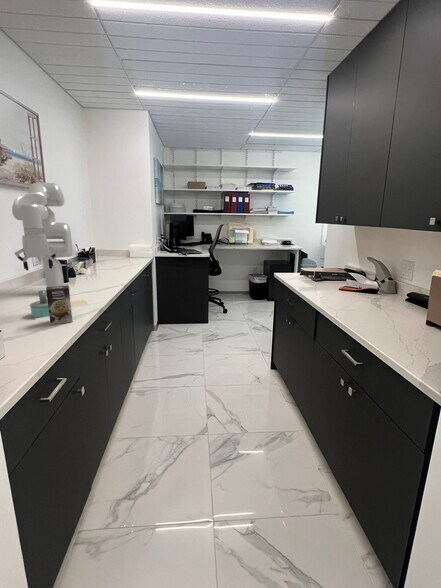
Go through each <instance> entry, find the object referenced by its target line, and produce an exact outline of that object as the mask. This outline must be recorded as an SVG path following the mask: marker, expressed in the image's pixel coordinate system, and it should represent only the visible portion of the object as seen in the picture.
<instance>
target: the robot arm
mask: <svg viewBox="0 0 441 588" xmlns="http://www.w3.org/2000/svg"><path fill="white" fill-rule="evenodd" d="M64 204H65V196H64V193H63V191H62V188H61V187H60V186H59V185H58V183H56V182H42V181H40V182H38V181H37V182H33V183H32V184H31V185H29V190H28V193H25V194H23V195H21V196H18V197H16V198H15V199H14V201H13V204H12V207H11V212H12V216H13V217H14V218H15V220H18V221H21V222H22V227H23V233H24V234H23V235H22V239H21V240H22V241H21V242H22V248H20V249H18V250H16V251H14V255H15V256H16V258H17V259H18V260H20V261H21V262H22V263H23V268H24V270H25V271H26V272H27V271H30V269H29V264H28V259H29V258H41V259H42V264H43V270H44V271H43V272H44V278H45V285H46V287H54V286H65V282H64V273H63V268H62V267H63V266H62V263H61V262H60V261H59V260H58V259H57V258H68V257H69V258H70V257H72V256H73V254H74V248H73V240H72V231H71V228H70V225H69V224H68V223H66V222H57V221H56V215H55V212H54V211H53V210H52V209H51V208H50V207H55V208H57V207H63V206H64ZM48 240H49V241H48ZM50 240H58V241H50ZM21 253H23V256H24V257H22V256H21V255H20V254H21ZM46 296H47V293H46Z"/></svg>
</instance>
